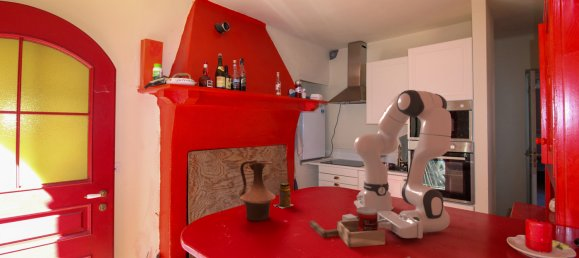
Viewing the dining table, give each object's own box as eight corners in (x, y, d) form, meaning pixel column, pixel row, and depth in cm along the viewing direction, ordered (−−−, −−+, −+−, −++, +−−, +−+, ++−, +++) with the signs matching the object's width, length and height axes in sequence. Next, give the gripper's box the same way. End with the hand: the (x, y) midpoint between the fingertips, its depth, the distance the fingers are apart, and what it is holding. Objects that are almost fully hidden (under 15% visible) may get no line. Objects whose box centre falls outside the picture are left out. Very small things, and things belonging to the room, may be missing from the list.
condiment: (293, 205, 153) (293, 183, 152) (282, 208, 147) (282, 186, 146) (284, 202, 158) (284, 181, 158) (273, 205, 152) (273, 184, 152)
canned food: (364, 232, 114) (364, 205, 113) (381, 238, 108) (381, 210, 107) (352, 237, 109) (352, 209, 108) (370, 244, 103) (370, 214, 102)
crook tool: (309, 225, 122) (309, 221, 122) (324, 223, 124) (324, 219, 124) (322, 238, 109) (322, 233, 109) (338, 235, 111) (338, 230, 111)
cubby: (337, 233, 113) (336, 221, 113) (369, 230, 115) (369, 218, 115) (348, 247, 100) (348, 233, 100) (385, 244, 102) (384, 230, 102)
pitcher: (236, 224, 124) (235, 162, 124) (241, 212, 141) (240, 157, 141) (275, 223, 125) (274, 161, 124) (276, 211, 142) (275, 157, 141)
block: (342, 225, 122) (342, 215, 122) (350, 223, 124) (350, 213, 123) (348, 229, 118) (348, 218, 118) (357, 227, 119) (357, 216, 119)
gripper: (394, 206, 121) (364, 208, 119) (425, 222, 101) (389, 225, 99) (394, 220, 121) (365, 223, 119) (425, 240, 101) (389, 243, 99)
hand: (376, 224), depth 109 cm, fingers closed, pressing on canned food
